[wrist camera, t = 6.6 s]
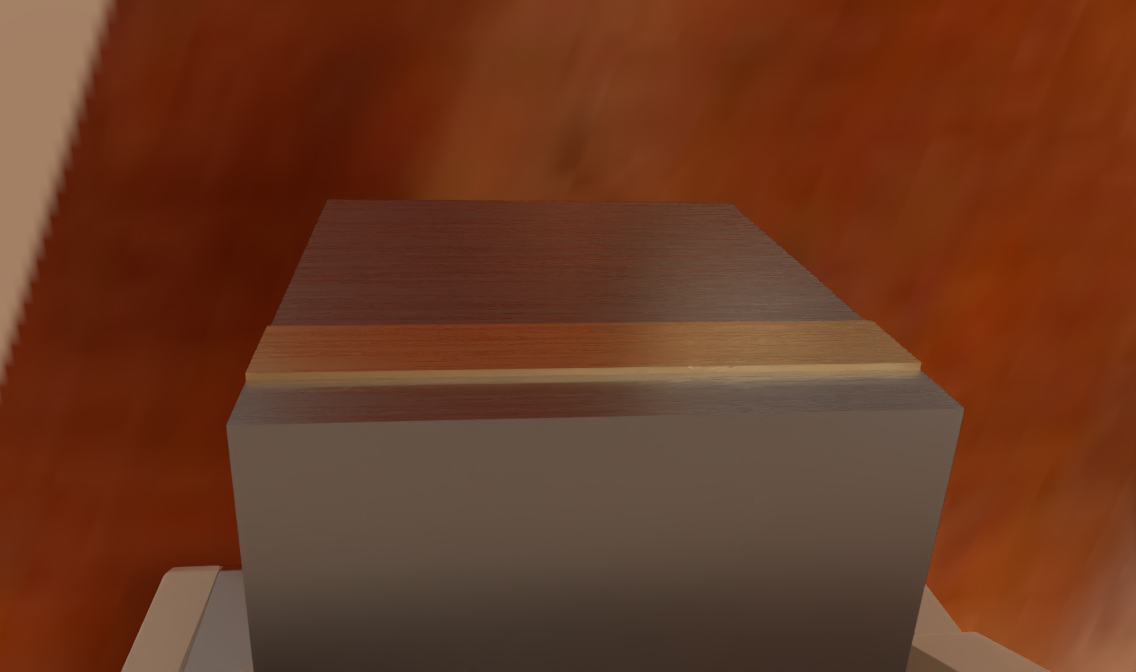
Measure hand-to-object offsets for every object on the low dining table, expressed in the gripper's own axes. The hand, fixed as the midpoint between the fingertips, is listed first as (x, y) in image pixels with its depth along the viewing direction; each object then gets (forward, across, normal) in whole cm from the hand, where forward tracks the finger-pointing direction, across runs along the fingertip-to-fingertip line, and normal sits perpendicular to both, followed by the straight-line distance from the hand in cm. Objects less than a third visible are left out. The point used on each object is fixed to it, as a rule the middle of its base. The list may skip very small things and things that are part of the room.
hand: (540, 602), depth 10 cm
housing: (+2, 0, 0) cm, 2 cm away
